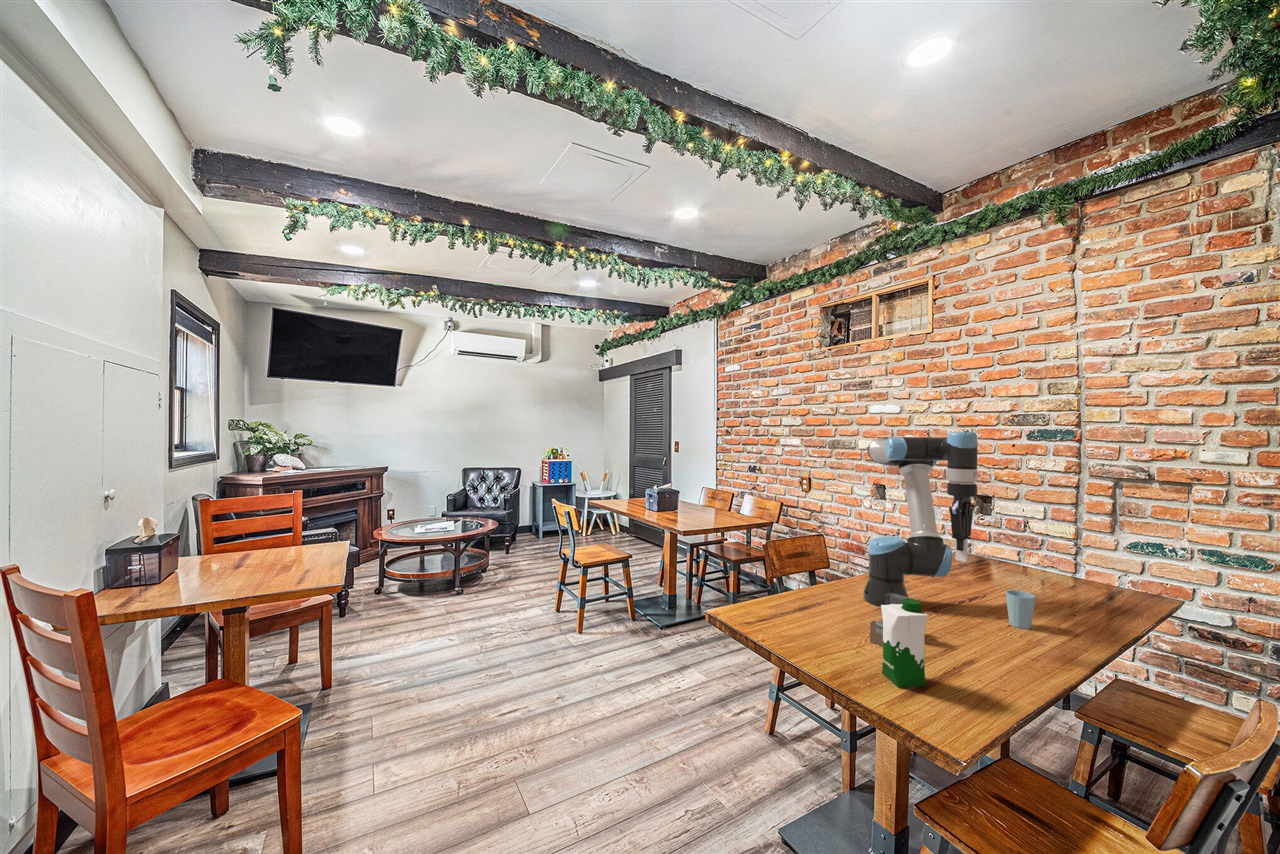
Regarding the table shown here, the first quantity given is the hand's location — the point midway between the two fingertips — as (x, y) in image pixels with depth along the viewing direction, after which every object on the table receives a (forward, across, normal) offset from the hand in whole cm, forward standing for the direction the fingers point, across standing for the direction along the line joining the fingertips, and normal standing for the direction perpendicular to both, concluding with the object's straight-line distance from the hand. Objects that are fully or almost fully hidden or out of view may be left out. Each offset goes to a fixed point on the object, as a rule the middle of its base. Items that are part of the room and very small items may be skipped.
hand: (961, 560), depth 145 cm
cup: (+25, +29, -7) cm, 39 cm away
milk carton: (+25, -38, 0) cm, 45 cm away
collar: (+24, -11, +13) cm, 30 cm away
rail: (+24, -14, +13) cm, 31 cm away
